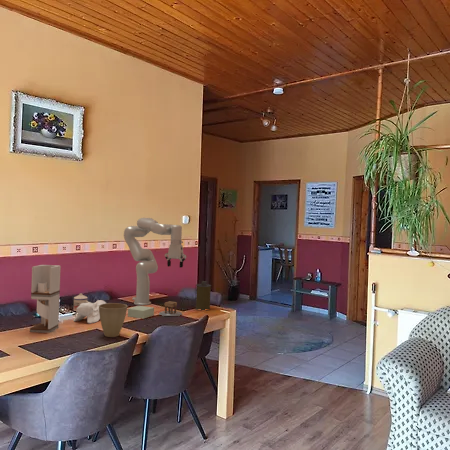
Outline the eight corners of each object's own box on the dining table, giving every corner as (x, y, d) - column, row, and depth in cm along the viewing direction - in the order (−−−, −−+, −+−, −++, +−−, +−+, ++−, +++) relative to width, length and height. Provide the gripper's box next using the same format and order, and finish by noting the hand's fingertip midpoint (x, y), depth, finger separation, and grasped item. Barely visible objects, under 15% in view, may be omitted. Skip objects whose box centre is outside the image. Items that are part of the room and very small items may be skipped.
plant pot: (99, 340, 218) (100, 309, 218) (96, 332, 232) (97, 303, 232) (128, 338, 224) (129, 307, 224) (123, 330, 238) (124, 302, 238)
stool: (168, 311, 288) (169, 301, 288) (176, 312, 286) (177, 302, 286) (164, 313, 283) (164, 302, 283) (172, 314, 280) (172, 303, 280)
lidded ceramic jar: (69, 311, 282) (70, 293, 282) (79, 309, 290) (80, 292, 290) (83, 313, 277) (84, 295, 277) (93, 311, 285) (94, 293, 285)
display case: (39, 326, 240) (42, 264, 240) (58, 327, 240) (60, 265, 239) (29, 332, 229) (32, 266, 228) (49, 332, 228) (51, 267, 228)
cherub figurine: (111, 301, 268) (90, 303, 249) (109, 321, 267) (87, 324, 248) (94, 298, 273) (73, 300, 254) (92, 318, 271) (70, 321, 253)
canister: (211, 308, 311) (212, 280, 310) (209, 311, 300) (210, 282, 300) (196, 307, 312) (197, 280, 312) (193, 310, 301) (195, 281, 301)
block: (127, 316, 274) (127, 308, 274) (138, 313, 285) (138, 305, 285) (143, 318, 269) (143, 310, 269) (153, 315, 280) (154, 307, 280)
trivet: (154, 315, 280) (154, 313, 280) (166, 311, 294) (166, 309, 294) (174, 318, 274) (174, 316, 274) (185, 313, 288) (185, 312, 288)
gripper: (189, 243, 299) (188, 267, 299) (168, 241, 306) (167, 265, 306) (184, 243, 292) (183, 268, 292) (162, 242, 299) (161, 266, 299)
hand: (175, 266), depth 299 cm, fingers open, 9 cm apart
